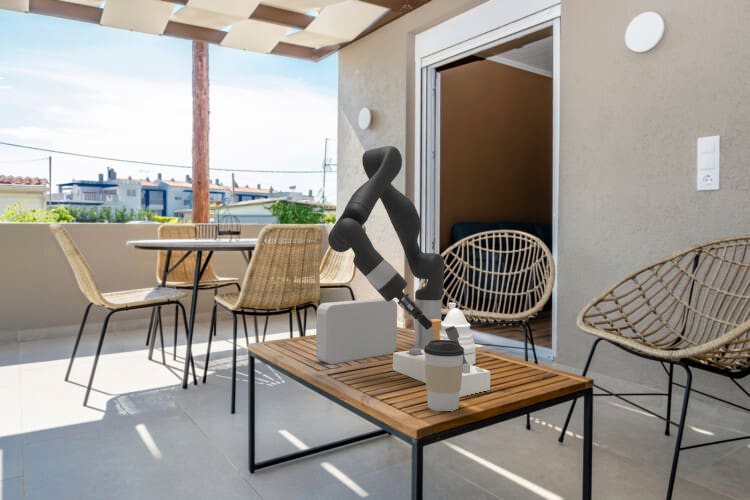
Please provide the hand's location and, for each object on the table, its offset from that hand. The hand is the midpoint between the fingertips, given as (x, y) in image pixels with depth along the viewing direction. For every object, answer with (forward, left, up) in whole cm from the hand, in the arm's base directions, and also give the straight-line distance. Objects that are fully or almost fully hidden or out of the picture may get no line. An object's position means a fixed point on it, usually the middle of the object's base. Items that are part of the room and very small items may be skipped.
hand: (429, 327), depth 135 cm
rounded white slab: (+4, -32, -15) cm, 35 cm away
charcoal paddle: (-2, +12, -9) cm, 15 cm away
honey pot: (-20, -13, -15) cm, 28 cm away
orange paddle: (-2, +1, -8) cm, 8 cm away
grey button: (-2, -9, -11) cm, 15 cm away
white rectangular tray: (-2, +1, -14) cm, 14 cm away
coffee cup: (+11, +19, -14) cm, 26 cm away
